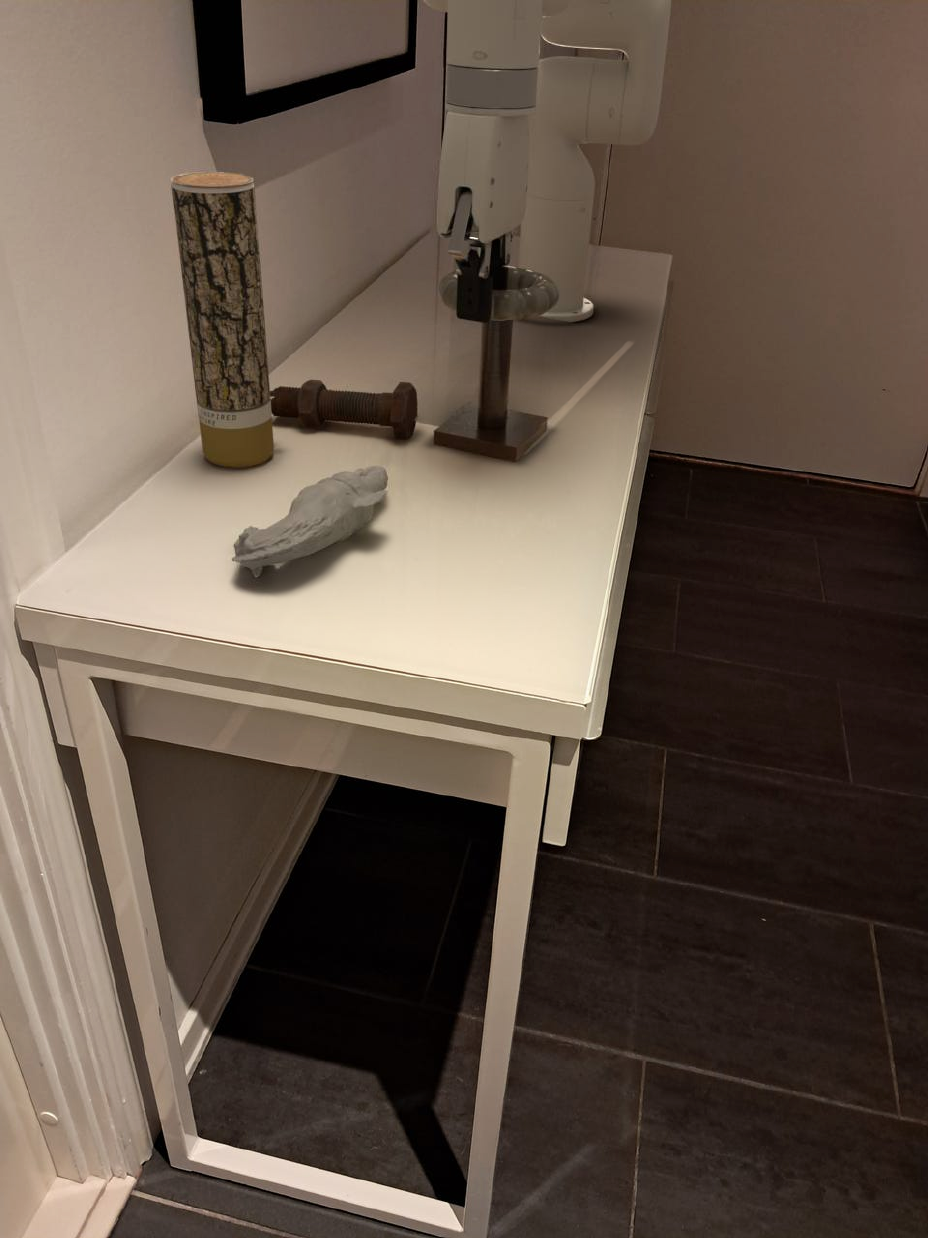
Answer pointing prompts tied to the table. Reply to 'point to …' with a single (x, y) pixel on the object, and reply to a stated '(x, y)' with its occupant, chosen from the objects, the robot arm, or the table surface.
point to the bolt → (348, 406)
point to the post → (492, 406)
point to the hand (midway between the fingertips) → (481, 312)
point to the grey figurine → (315, 519)
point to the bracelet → (511, 294)
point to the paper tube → (225, 314)
